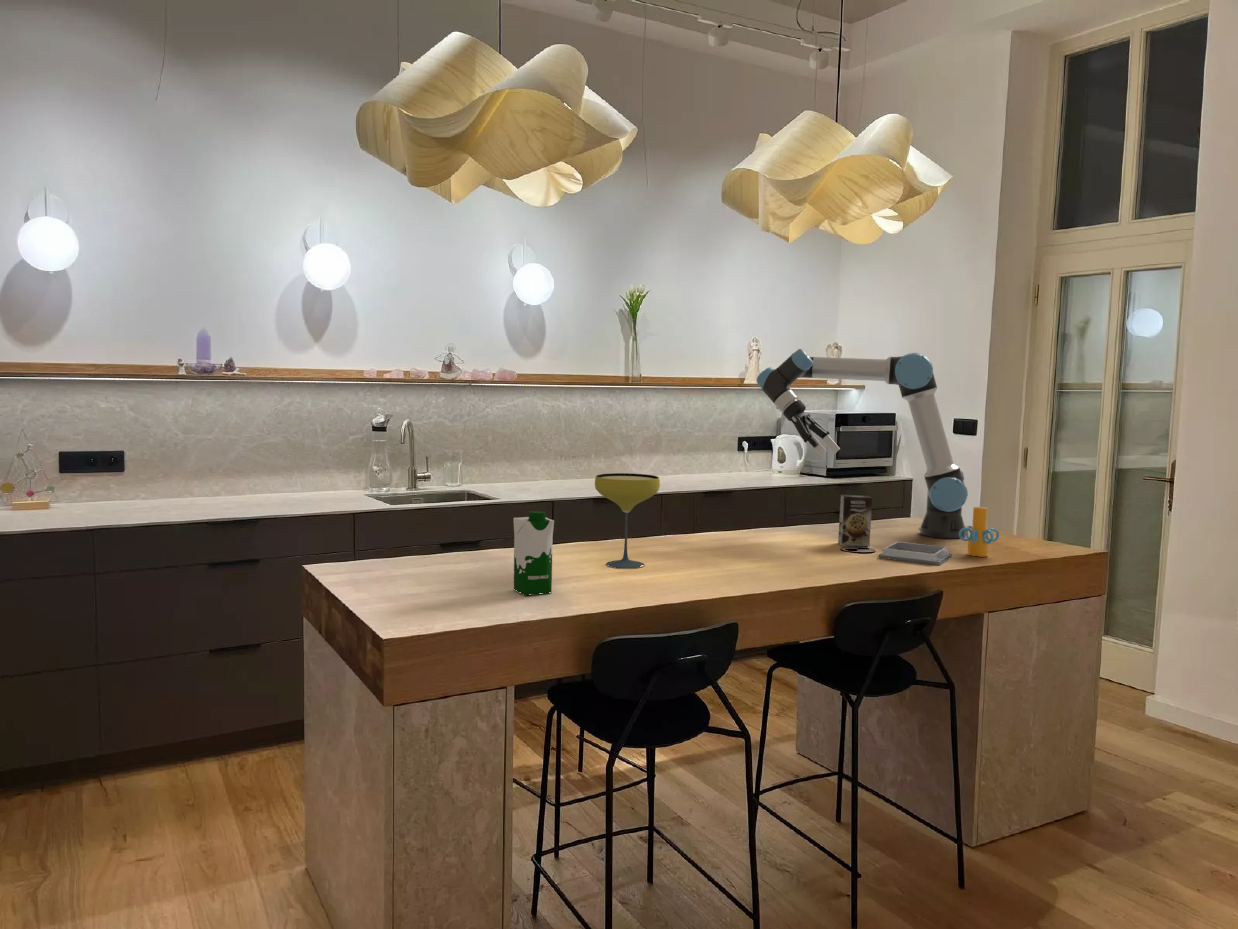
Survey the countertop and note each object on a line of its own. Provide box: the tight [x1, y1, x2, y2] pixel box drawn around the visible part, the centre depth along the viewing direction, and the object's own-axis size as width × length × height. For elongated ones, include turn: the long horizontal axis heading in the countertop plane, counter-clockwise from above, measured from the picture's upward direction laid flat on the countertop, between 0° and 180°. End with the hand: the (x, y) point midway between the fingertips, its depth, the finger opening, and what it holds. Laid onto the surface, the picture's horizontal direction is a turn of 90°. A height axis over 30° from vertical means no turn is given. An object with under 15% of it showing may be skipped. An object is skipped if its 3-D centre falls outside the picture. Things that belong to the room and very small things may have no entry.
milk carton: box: [512, 510, 555, 596], centre depth 227 cm, size 9×9×20 cm
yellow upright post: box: [959, 506, 1000, 558], centre depth 290 cm, size 12×10×15 cm
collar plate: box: [877, 541, 952, 566], centre depth 284 cm, size 16×18×3 cm
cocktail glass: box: [594, 472, 661, 569], centre depth 262 cm, size 18×18×25 cm
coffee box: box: [837, 494, 873, 547], centre depth 303 cm, size 9×6×16 cm
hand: (830, 452), depth 317 cm, fingers open, 13 cm apart
